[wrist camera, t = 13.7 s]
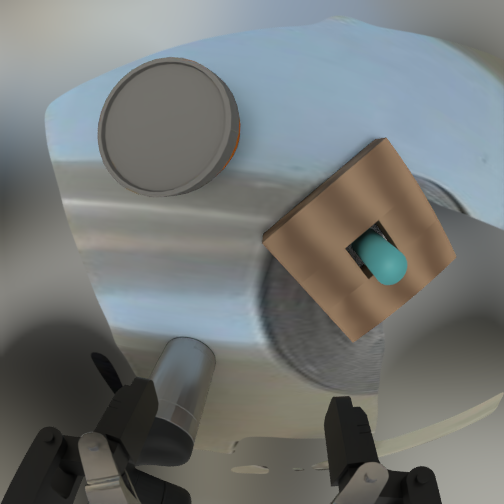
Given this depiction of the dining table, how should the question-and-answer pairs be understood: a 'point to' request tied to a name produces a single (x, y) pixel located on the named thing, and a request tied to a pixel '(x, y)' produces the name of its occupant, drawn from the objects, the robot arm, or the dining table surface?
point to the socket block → (350, 228)
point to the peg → (380, 257)
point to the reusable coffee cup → (168, 128)
